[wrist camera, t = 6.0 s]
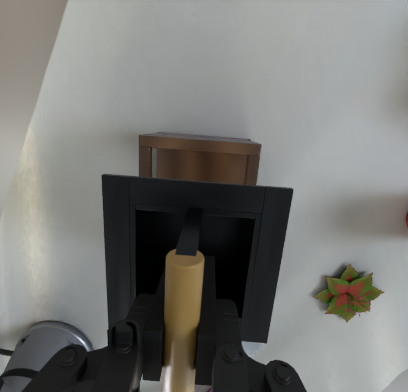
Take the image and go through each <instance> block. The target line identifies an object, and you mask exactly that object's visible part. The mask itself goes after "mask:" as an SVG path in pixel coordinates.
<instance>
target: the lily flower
mask: <svg viewBox="0 0 408 392" xmlns="http://www.w3.org/2000/svg"><path fill="white" fill-rule="evenodd" d="M372 274H373V273H371V274H369V275H367V276H364V277H362V278H359V275H358V273H357V271H356V270H355V269H354V268H352V267H351V264H350V265H349V266H348V268H347V270H346V271H345V272H344V273H343V274H342V276H341V277H340V279H337V278H329V277H327V276H326V278H327V282H328V287H329V288H328V289H326V290H324V291H322V292H321V293H319V294H318V295H315V296H313V297H316V298H317V299H320V301H322V302H324V303H329V307H328V309H327V312H326V313H325V314H332V313H333V314H340V315H341V317H342V318H343V319H345V320H346V322H348V321H349V320H350V319H351V318H352V317H353V316H354V315H355V314H356V312H358V313H359V312H366V311H370V309H371V308H370V305H371V303H370V301H371V300H374V299H375V298H377V297H378V296H379V295H380V294H382V293H384V292H383V291H381V290H378V288H376V287H373V286H372ZM359 316H360V314H359Z"/></svg>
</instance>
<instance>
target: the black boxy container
mask: <svg viewBox="0 0 408 392" xmlns="http://www.w3.org/2000/svg"><path fill="white" fill-rule="evenodd" d="M102 195H103V217H104V239H105V261H106V283H107V305H108V327H110V326H111V325H112V324H114V323H115V322H117V321H119V320H122V319H126V317H127V315H128V313H129V310H130V308H131V306H132V304H133V301H134V299H135V298H136V297H137V296H138V295H139V294H141V293H147V294H155V293H156V290H157V287H158V285H159V282H160V279H161V276H162V273H163V270H164V267H165V264H166V271H165V305H164V341H163V371H162V392H194V387H195V371H196V357H197V345H198V332H199V320H200V310H201V298H202V285H203V272H204V256H215V287H216V298H217V299H229V300H233V302H234V303H235V305H236V306H237V312H238V319H239V326H240V333H241V340H242V342H243V341H244V342H254V343H267V339H268V333H269V327H270V322H271V316H272V310H273V304H274V299H275V293H276V287H277V281H278V276H279V270H280V264H281V259H282V253H283V247H284V241H285V236H286V230H287V224H288V218H289V213H290V207H291V201H292V195H293V189H292V188H285V187H272V186H259V185H245V184H232V183H218V182H205V181H192V180H178V179H165V178H152V177H138V176H125V175H111V174H103V175H102Z"/></svg>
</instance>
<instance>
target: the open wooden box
mask: <svg viewBox="0 0 408 392" xmlns="http://www.w3.org/2000/svg"><path fill="white" fill-rule="evenodd" d="M152 147H154V148H157V178H165V179H178V180H192V181H205V182H218V183H232V184H245V185H256V182H257V175H258V167H259V160H260V156H259V155H260V152H261V144H258V143H255V142H253V141H251V140H250V139H238V138H225V137H212V136H198V135H185V134H172V133H156V134H146V135H139V177H152Z"/></svg>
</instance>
